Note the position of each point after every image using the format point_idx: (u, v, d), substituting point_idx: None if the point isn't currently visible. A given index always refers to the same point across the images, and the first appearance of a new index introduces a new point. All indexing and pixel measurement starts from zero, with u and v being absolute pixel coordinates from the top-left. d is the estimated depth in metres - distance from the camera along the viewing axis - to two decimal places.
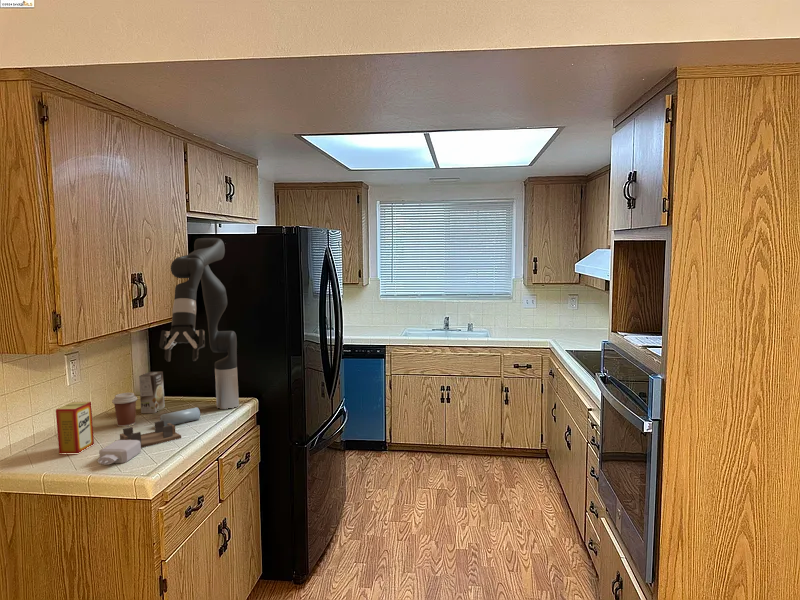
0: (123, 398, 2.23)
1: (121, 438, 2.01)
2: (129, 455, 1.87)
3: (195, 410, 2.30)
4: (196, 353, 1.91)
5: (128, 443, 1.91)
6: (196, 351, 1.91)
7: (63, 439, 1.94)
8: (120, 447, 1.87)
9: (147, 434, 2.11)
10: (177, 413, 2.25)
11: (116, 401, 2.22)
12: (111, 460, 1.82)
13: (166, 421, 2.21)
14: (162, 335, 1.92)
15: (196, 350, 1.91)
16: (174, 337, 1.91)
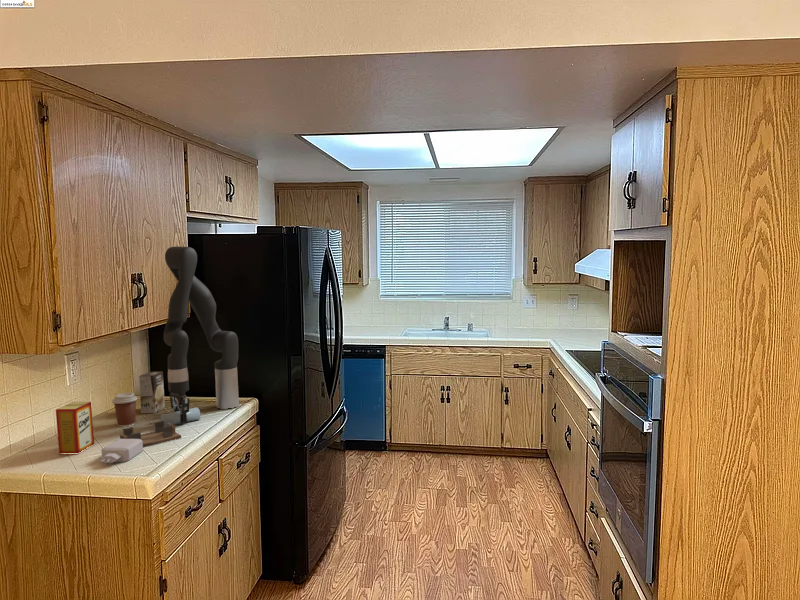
0: (123, 398, 2.23)
1: (121, 438, 2.01)
2: (131, 454, 1.88)
3: (195, 411, 2.29)
4: (182, 418, 2.24)
5: (130, 442, 1.92)
6: (182, 416, 2.24)
7: (63, 439, 1.94)
8: (122, 446, 1.88)
9: (147, 434, 2.11)
10: (177, 414, 2.25)
11: (116, 401, 2.22)
12: (113, 459, 1.83)
13: (166, 422, 2.21)
14: (170, 398, 2.30)
15: (182, 415, 2.24)
16: (173, 400, 2.27)
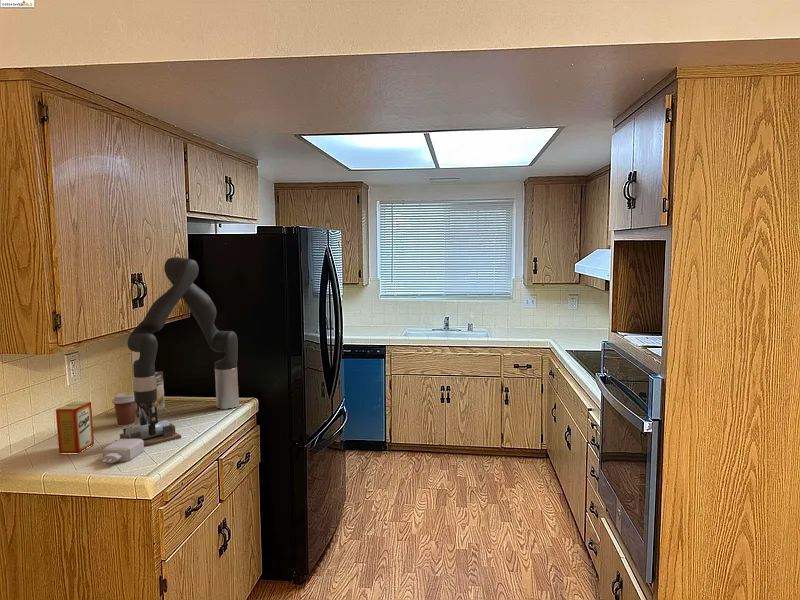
0: (123, 398, 2.23)
1: (121, 438, 2.01)
2: (132, 454, 1.88)
3: (164, 424, 2.09)
4: (151, 429, 2.02)
5: (131, 442, 1.92)
6: (150, 427, 2.02)
7: (63, 439, 1.94)
8: (123, 446, 1.88)
9: None
10: (144, 427, 2.04)
11: (116, 401, 2.22)
12: (114, 459, 1.83)
13: None
14: (137, 406, 2.09)
15: (150, 427, 2.02)
16: (139, 411, 2.06)
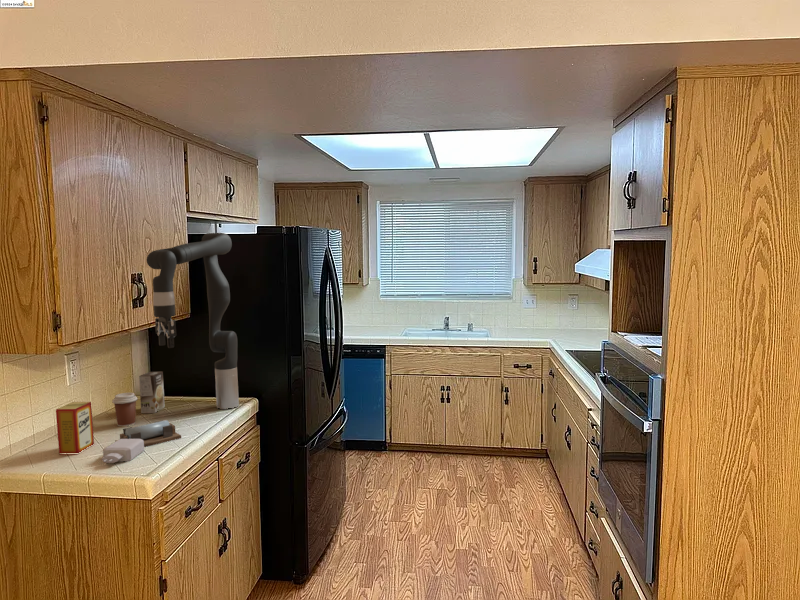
0: (123, 398, 2.23)
1: (121, 438, 2.01)
2: (133, 454, 1.88)
3: (164, 424, 2.09)
4: (169, 342, 2.12)
5: (131, 442, 1.92)
6: (169, 340, 2.12)
7: (63, 439, 1.94)
8: (124, 446, 1.88)
9: None
10: (144, 427, 2.04)
11: (116, 401, 2.22)
12: (115, 459, 1.83)
13: None
14: (155, 322, 2.19)
15: (169, 339, 2.12)
16: (158, 326, 2.16)
